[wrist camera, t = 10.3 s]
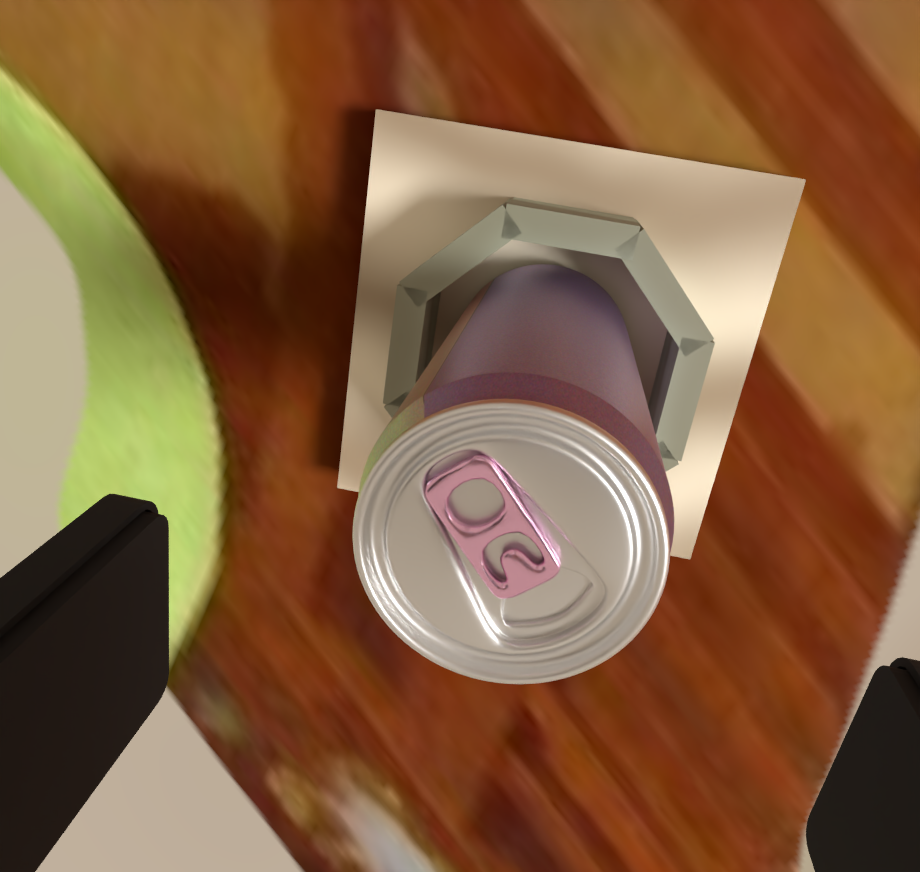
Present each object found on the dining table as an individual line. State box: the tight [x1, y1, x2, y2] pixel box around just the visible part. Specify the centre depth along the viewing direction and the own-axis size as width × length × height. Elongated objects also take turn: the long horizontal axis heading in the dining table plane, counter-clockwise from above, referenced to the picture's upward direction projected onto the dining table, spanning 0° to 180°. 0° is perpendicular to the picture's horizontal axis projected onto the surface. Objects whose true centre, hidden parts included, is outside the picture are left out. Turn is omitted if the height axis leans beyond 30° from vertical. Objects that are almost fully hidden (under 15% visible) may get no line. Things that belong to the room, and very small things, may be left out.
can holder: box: [337, 109, 806, 559], centre depth 27 cm, size 14×14×4 cm
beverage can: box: [353, 264, 674, 684], centre depth 20 cm, size 6×6×15 cm
